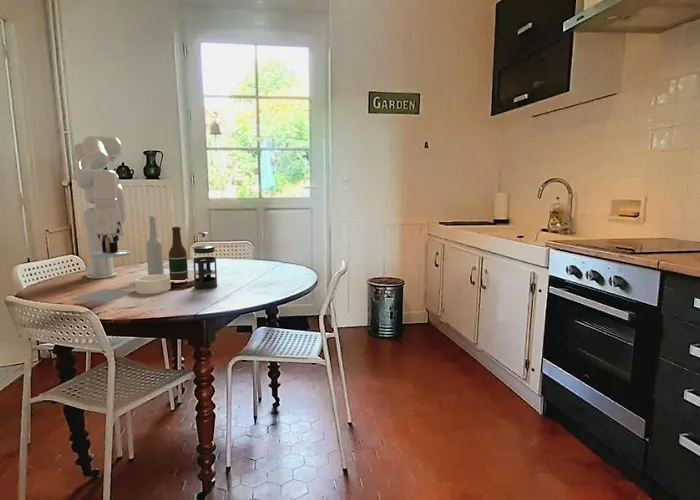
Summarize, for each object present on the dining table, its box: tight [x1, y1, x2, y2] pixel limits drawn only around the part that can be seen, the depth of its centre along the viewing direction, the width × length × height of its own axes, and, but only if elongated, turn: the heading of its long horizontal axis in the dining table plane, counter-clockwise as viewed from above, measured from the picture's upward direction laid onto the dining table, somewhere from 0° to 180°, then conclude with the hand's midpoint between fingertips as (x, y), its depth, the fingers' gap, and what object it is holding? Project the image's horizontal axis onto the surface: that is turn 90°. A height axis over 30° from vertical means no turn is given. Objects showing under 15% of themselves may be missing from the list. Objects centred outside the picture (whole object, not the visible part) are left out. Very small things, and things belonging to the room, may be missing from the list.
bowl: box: [134, 274, 172, 295], centre depth 180 cm, size 12×12×6 cm
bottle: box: [145, 215, 165, 275], centre depth 203 cm, size 7×7×28 cm
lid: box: [90, 237, 131, 258], centre depth 171 cm, size 14×14×7 cm
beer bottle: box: [168, 226, 189, 280], centre depth 196 cm, size 8×8×24 cm
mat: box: [71, 288, 137, 303], centre depth 172 cm, size 16×16×1 cm
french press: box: [192, 231, 219, 290], centre depth 186 cm, size 12×9×23 cm
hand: (110, 251), depth 171 cm, fingers closed on lid, 2 cm apart
